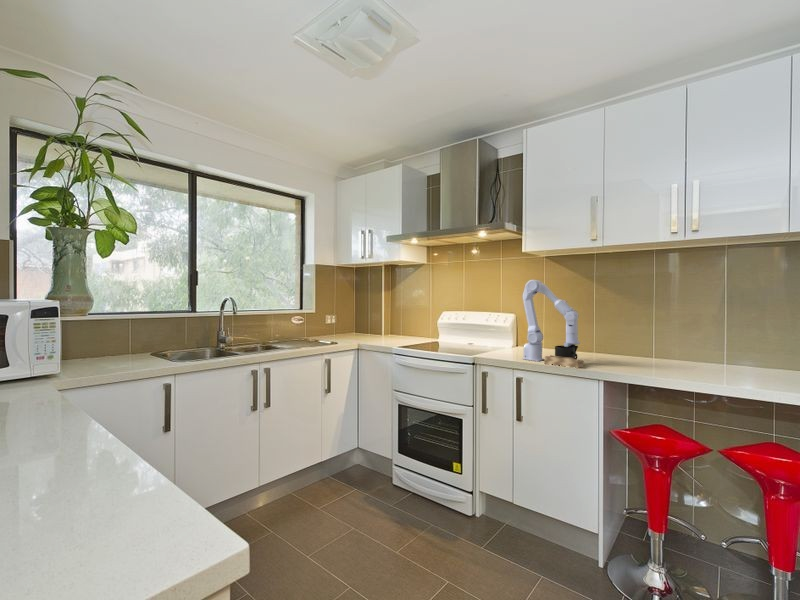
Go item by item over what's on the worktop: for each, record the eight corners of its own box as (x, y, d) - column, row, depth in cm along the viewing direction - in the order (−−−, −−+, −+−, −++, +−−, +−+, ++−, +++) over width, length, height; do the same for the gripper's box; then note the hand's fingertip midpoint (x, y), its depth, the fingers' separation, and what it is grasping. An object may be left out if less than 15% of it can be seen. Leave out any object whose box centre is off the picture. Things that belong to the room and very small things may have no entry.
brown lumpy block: (544, 364, 207) (544, 355, 207) (550, 362, 212) (550, 353, 212) (577, 368, 195) (577, 359, 195) (583, 366, 200) (583, 357, 200)
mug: (571, 367, 198) (571, 349, 197) (551, 363, 208) (550, 346, 208) (583, 365, 202) (583, 347, 202) (562, 361, 213) (562, 344, 213)
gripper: (573, 334, 202) (573, 361, 202) (585, 332, 212) (585, 358, 212) (559, 334, 207) (560, 360, 207) (571, 332, 217) (572, 357, 217)
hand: (571, 359), depth 210 cm, fingers closed
